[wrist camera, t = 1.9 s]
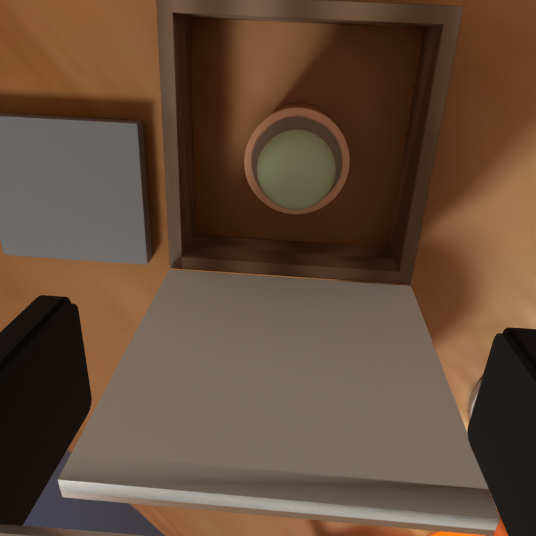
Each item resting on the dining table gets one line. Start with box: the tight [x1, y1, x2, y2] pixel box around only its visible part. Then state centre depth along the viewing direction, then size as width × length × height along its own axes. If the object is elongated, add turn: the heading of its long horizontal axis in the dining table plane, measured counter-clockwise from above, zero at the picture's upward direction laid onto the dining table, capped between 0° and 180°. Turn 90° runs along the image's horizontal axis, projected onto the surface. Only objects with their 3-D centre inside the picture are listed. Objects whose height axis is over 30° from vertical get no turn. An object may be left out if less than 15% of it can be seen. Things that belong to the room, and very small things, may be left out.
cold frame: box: [156, 0, 464, 284], centre depth 35 cm, size 19×19×5 cm
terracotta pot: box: [244, 103, 350, 214], centre depth 32 cm, size 7×7×12 cm
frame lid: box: [58, 270, 500, 536], centre depth 29 cm, size 19×19×1 cm
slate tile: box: [0, 113, 152, 264], centre depth 40 cm, size 13×12×2 cm
